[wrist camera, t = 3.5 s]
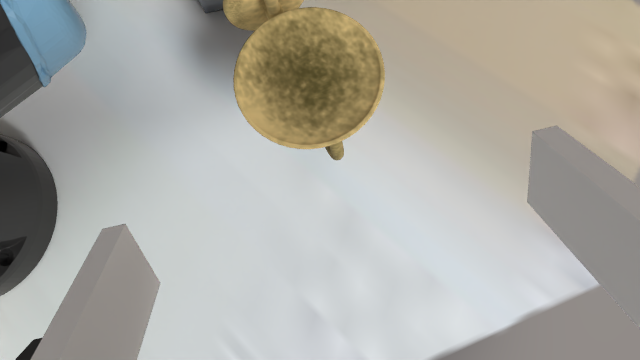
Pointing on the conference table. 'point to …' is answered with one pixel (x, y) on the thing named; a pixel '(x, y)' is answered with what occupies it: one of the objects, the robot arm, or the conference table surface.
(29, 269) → the robot arm
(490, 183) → the conference table surface
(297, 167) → the conference table surface
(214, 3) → the tray
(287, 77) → the wall sconce
